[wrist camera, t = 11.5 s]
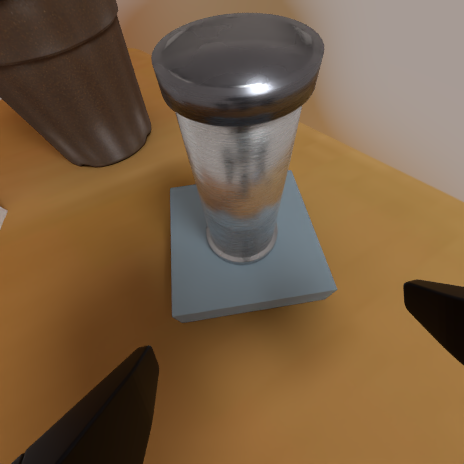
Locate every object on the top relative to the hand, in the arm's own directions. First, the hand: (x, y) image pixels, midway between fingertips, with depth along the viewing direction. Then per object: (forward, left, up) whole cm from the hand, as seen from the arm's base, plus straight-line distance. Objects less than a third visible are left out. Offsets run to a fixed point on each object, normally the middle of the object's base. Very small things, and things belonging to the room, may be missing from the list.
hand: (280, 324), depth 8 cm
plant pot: (+23, +22, -11) cm, 34 cm away
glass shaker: (+8, +2, -8) cm, 12 cm away
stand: (+8, +2, -11) cm, 14 cm away
